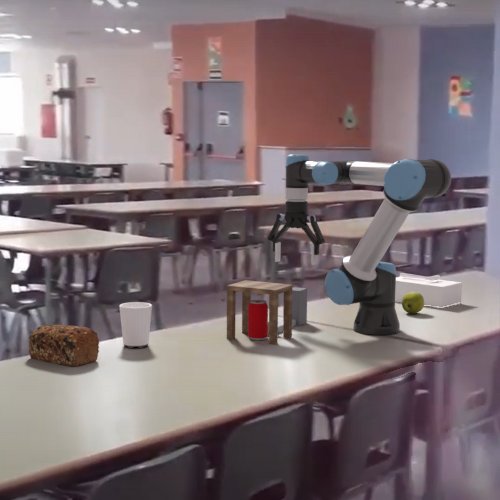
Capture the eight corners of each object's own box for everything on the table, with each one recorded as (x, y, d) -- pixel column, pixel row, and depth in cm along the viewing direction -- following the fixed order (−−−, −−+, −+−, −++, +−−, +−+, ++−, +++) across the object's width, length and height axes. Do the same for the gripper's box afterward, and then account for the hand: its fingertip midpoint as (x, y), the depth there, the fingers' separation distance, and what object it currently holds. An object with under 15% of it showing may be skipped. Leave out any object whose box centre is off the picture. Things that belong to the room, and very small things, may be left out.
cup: (158, 344, 282) (158, 303, 281) (141, 351, 273) (141, 309, 272) (130, 341, 286) (130, 300, 285) (113, 347, 278) (112, 306, 276)
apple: (427, 312, 336) (428, 291, 335) (417, 316, 329) (418, 294, 328) (407, 310, 340) (408, 289, 339) (397, 314, 333) (398, 292, 332)
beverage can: (268, 336, 294) (268, 299, 293) (266, 341, 288) (267, 303, 287) (248, 336, 295) (249, 299, 293) (246, 340, 289) (247, 302, 287)
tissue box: (441, 309, 344) (442, 280, 342) (385, 301, 361) (386, 273, 359) (461, 304, 354) (462, 276, 353) (405, 296, 371) (406, 269, 370)
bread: (100, 361, 262) (99, 326, 261) (72, 368, 253) (72, 333, 252) (54, 351, 273) (54, 318, 271) (26, 358, 264) (26, 324, 263)
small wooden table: (291, 337, 294) (292, 284, 292) (274, 344, 283) (275, 290, 281) (244, 331, 302) (245, 280, 300) (226, 338, 291) (226, 285, 289)
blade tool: (306, 322, 316) (307, 288, 315) (276, 335, 296) (276, 298, 295) (290, 321, 319) (291, 286, 318) (259, 333, 299) (260, 297, 298)
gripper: (335, 201, 307) (333, 264, 310) (268, 198, 319) (268, 258, 322) (326, 202, 301) (324, 267, 303) (258, 199, 312) (257, 261, 315)
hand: (295, 263), depth 313 cm, fingers open, 13 cm apart
